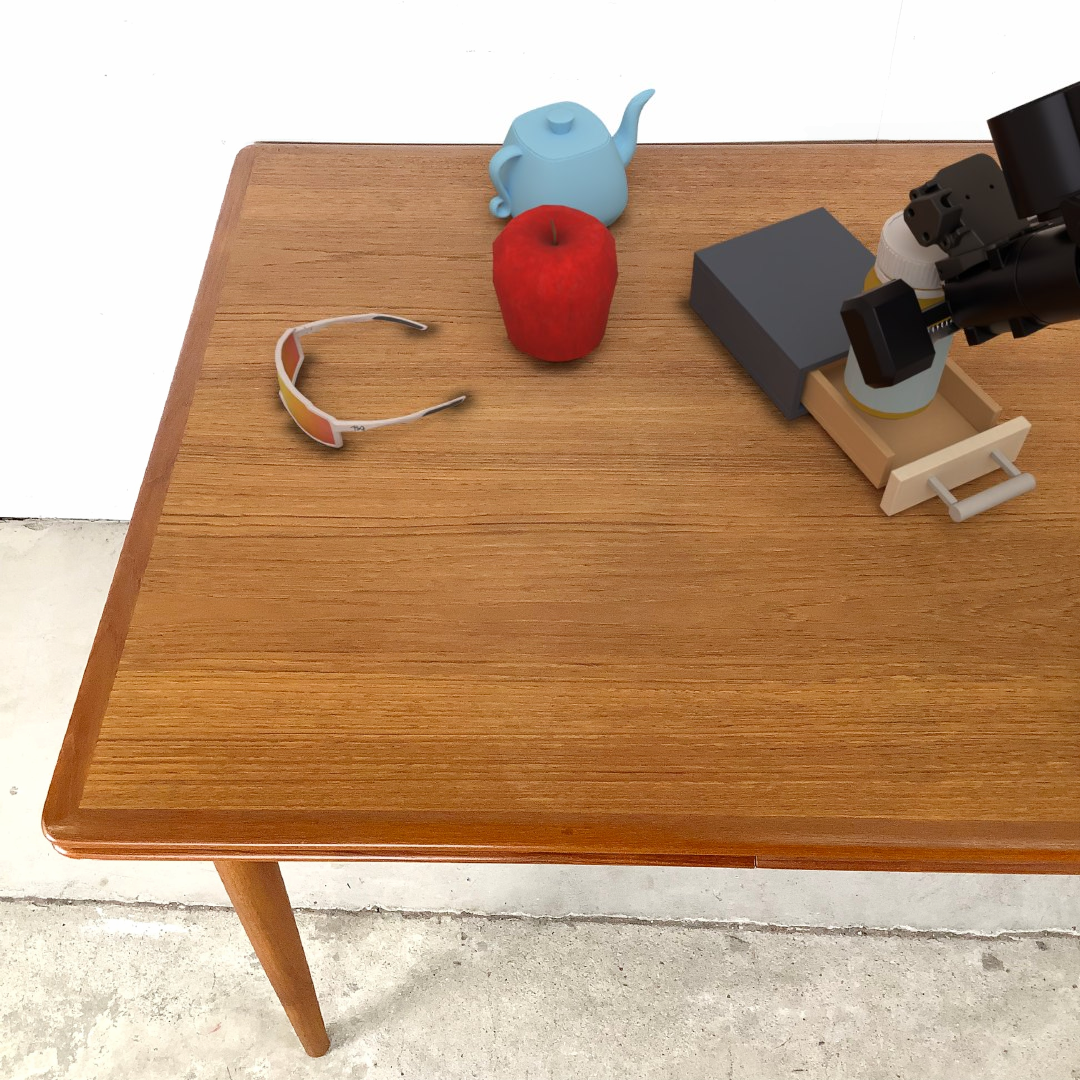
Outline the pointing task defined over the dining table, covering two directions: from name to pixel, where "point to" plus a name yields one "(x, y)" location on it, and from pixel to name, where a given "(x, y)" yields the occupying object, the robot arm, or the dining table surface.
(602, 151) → the teapot
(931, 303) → the bottle
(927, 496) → the drawer
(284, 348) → the sunglasses
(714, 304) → the cabinet
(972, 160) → the robot arm
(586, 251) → the apple
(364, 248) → the dining table surface
